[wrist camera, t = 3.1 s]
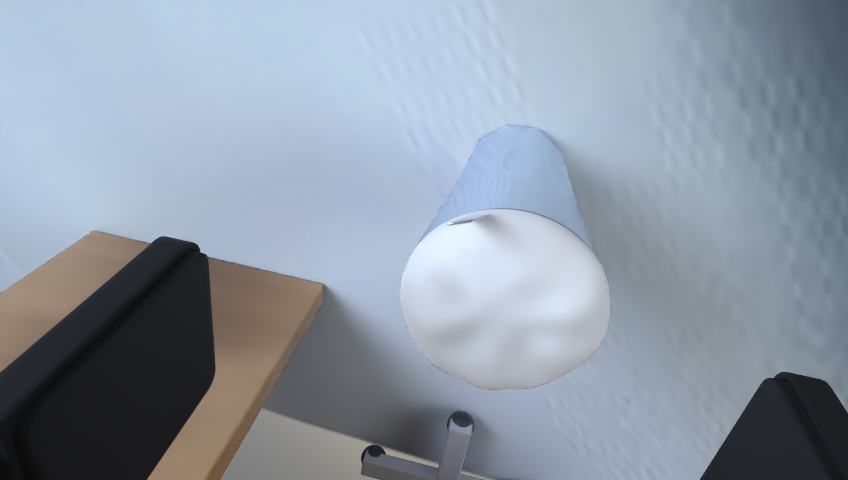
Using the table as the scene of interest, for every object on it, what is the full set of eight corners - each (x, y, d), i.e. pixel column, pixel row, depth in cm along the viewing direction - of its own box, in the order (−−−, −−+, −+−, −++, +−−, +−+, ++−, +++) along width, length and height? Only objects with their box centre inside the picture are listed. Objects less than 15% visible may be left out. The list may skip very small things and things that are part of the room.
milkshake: (572, 64, 17) (604, 200, 9) (591, 218, 19) (631, 447, 11) (431, 94, 18) (335, 239, 10) (465, 235, 21) (411, 452, 12)
